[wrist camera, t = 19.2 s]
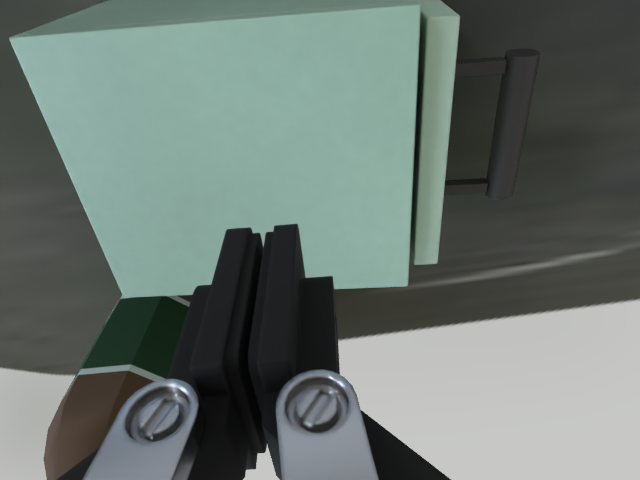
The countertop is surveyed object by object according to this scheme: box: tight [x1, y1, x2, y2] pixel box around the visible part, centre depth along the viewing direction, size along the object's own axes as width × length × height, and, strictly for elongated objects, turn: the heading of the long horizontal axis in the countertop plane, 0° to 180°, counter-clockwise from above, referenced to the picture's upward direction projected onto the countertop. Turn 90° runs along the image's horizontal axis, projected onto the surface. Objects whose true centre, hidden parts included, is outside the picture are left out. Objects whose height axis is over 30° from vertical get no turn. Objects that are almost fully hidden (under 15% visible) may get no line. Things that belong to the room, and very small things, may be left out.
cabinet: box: [9, 0, 421, 298], centre depth 23 cm, size 15×13×10 cm
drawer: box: [410, 0, 540, 265], centre depth 23 cm, size 18×11×8 cm, turn 94°
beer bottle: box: [44, 294, 192, 480], centre depth 26 cm, size 8×8×24 cm
